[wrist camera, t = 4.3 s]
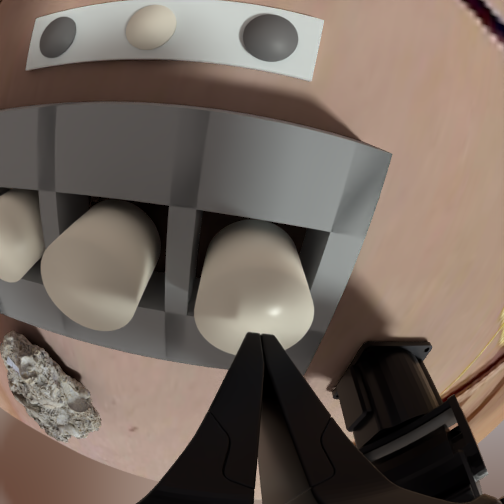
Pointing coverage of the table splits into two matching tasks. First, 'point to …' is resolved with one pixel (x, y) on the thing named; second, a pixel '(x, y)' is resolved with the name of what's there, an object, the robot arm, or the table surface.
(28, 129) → the button board
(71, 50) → the card
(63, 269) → the button middle
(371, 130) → the table surface
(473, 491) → the robot arm
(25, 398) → the mineral specimen
